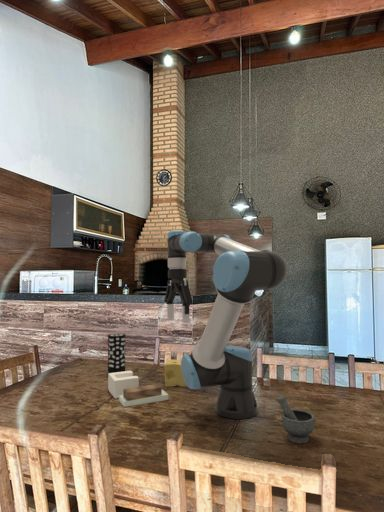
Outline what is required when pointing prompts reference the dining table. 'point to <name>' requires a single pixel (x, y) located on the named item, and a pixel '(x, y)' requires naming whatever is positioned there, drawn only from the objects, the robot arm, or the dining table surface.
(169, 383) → the cheese
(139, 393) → the tile
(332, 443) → the dining table surface
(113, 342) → the spotted tube
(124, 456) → the dining table surface
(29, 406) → the dining table surface
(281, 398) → the mortar and pestle
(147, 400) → the white flat bar
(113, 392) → the white box holder
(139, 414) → the dining table surface
